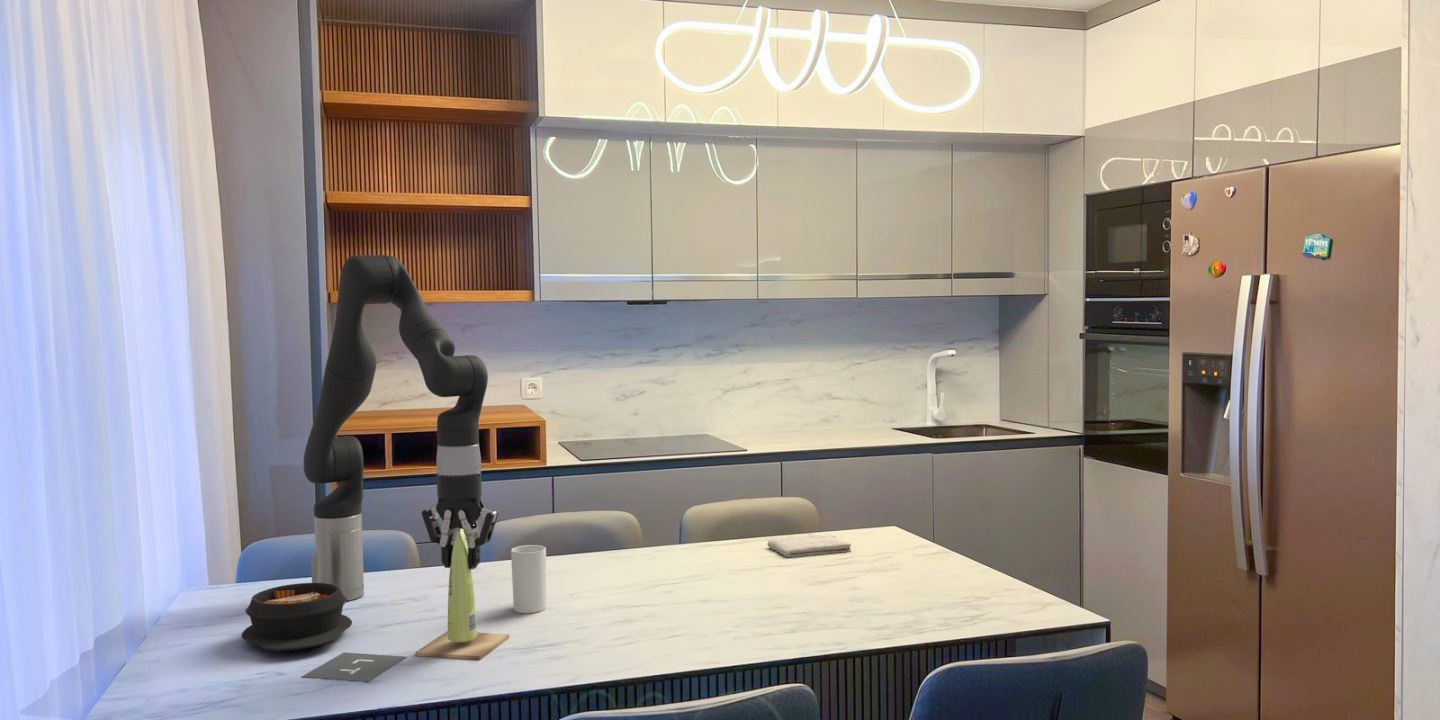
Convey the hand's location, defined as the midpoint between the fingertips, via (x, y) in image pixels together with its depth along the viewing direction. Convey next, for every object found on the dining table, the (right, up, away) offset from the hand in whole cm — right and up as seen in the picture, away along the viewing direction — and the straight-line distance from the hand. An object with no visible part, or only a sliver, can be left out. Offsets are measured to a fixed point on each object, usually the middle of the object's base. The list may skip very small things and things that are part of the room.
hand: (461, 567), depth 181 cm
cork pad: (0, -14, +1) cm, 14 cm away
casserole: (-31, -15, +6) cm, 35 cm away
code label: (-15, -15, -9) cm, 23 cm away
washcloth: (+67, -11, +70) cm, 98 cm away
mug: (+8, -13, +25) cm, 29 cm away
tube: (0, -13, +1) cm, 13 cm away
